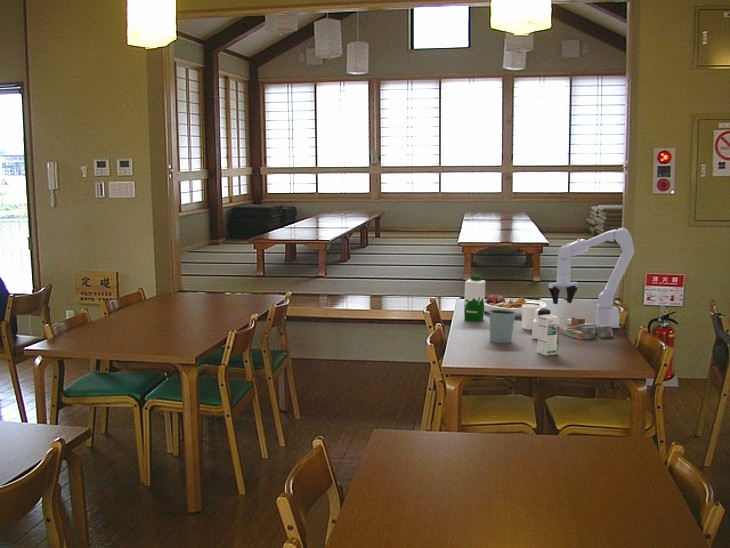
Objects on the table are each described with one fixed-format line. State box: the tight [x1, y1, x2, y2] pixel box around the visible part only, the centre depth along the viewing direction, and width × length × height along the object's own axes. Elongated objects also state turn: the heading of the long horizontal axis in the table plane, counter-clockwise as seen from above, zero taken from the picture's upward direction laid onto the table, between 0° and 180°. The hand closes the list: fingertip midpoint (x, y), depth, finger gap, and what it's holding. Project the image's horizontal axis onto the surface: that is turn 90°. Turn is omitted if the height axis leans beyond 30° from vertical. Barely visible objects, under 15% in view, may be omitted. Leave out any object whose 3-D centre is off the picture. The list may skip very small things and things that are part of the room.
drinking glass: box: [488, 309, 516, 344], centre depth 324 cm, size 10×10×12 cm
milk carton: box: [463, 274, 486, 323], centre depth 367 cm, size 9×9×20 cm
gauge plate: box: [566, 322, 598, 335], centre depth 336 cm, size 15×7×4 cm, turn 114°
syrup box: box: [536, 313, 560, 356], centre depth 303 cm, size 6×6×14 cm
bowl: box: [484, 294, 547, 319], centre depth 387 cm, size 30×30×8 cm
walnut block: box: [570, 316, 586, 330], centre depth 345 cm, size 4×4×6 cm
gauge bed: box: [559, 318, 614, 340], centre depth 345 cm, size 17×28×5 cm, turn 24°
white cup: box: [521, 304, 540, 331], centre depth 350 cm, size 8×8×10 cm
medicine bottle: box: [531, 308, 551, 340], centre depth 331 cm, size 7×7×12 cm
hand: (562, 303), depth 360 cm, fingers open, 7 cm apart
